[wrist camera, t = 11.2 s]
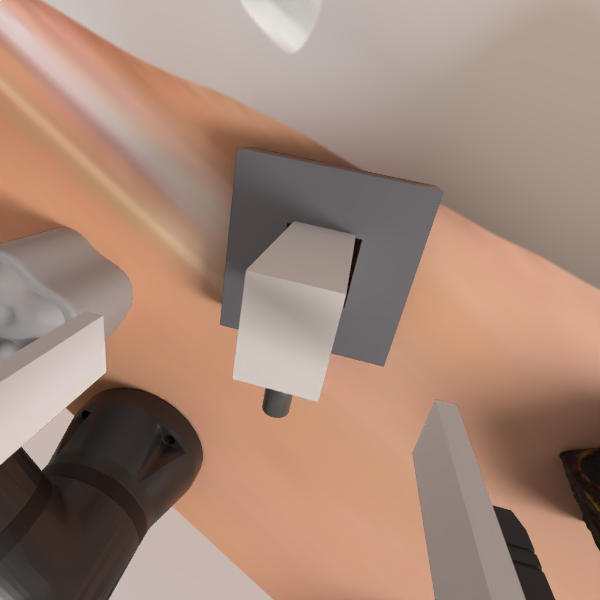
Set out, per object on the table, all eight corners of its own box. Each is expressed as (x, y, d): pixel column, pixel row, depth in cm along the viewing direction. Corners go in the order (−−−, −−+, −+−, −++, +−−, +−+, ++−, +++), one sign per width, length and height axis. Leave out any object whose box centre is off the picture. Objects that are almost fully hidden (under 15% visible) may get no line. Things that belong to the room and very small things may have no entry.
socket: (232, 309, 33) (216, 329, 30) (250, 147, 27) (233, 147, 24) (382, 347, 32) (383, 372, 28) (436, 186, 26) (446, 192, 22)
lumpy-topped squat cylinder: (146, 290, 34) (79, 334, 26) (87, 365, 39) (16, 421, 31) (56, 212, 32) (-45, 234, 25) (7, 301, 38) (-89, 342, 30)
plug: (331, 327, 31) (306, 444, 19) (282, 314, 32) (227, 422, 20) (357, 227, 28) (346, 294, 15) (300, 214, 28) (246, 270, 16)
